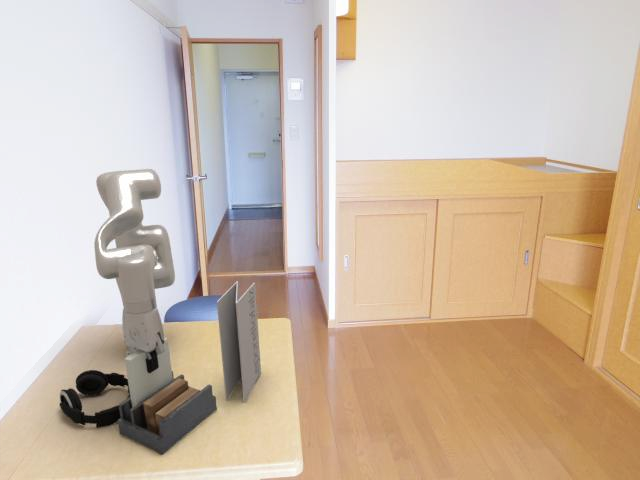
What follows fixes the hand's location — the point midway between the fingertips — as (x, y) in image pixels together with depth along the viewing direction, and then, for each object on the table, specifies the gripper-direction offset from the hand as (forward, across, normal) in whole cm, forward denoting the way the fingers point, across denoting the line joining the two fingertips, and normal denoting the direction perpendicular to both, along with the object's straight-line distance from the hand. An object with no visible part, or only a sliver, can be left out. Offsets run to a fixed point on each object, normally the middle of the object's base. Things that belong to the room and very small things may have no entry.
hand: (149, 368), depth 120 cm
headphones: (+15, -16, -5) cm, 22 cm away
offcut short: (+14, +9, 0) cm, 17 cm away
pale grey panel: (+14, 0, 0) cm, 14 cm away
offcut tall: (+14, +5, 0) cm, 15 cm away
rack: (+14, +5, 0) cm, 15 cm away
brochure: (+14, +13, +21) cm, 29 cm away
